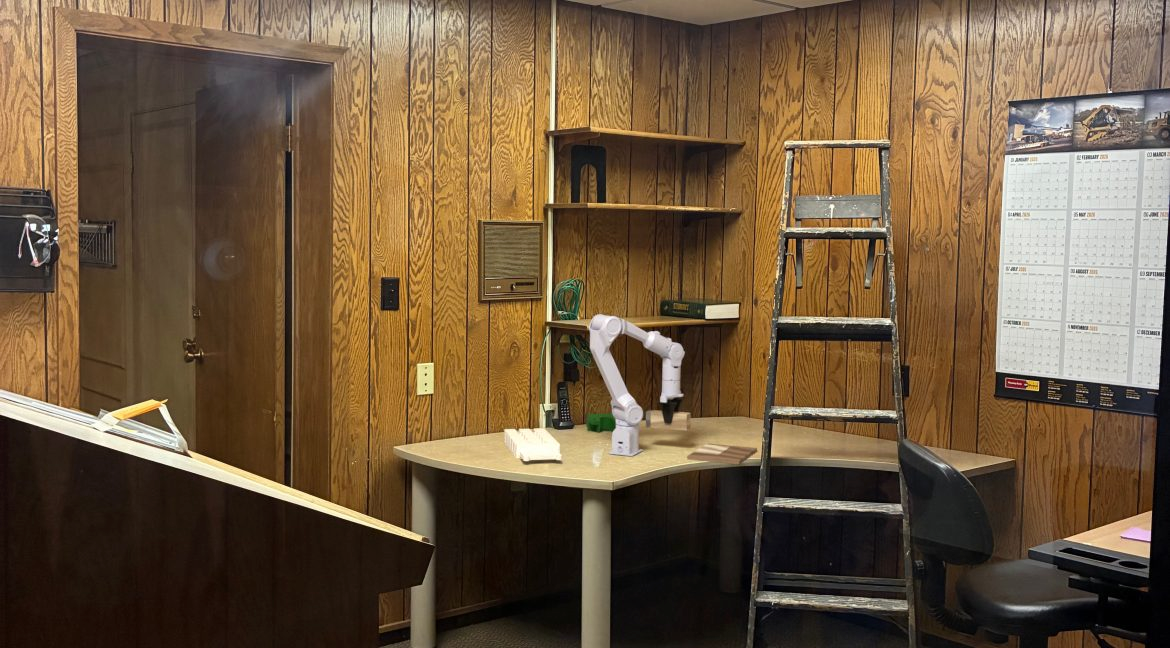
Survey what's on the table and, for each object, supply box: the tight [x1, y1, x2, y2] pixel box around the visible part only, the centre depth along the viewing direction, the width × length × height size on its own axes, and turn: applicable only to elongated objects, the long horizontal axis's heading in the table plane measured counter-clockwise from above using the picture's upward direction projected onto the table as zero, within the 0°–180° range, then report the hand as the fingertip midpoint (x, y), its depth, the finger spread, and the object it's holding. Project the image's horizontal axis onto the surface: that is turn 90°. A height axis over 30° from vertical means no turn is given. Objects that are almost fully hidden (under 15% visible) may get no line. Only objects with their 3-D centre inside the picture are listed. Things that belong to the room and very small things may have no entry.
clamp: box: [585, 412, 616, 434], centre depth 354 cm, size 12×6×9 cm, turn 98°
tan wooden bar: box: [645, 409, 692, 431], centre depth 325 cm, size 4×14×5 cm, turn 66°
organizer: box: [503, 427, 563, 462], centre depth 315 cm, size 13×5×35 cm
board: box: [686, 443, 758, 465], centre depth 316 cm, size 22×16×1 cm
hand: (670, 422), depth 325 cm, fingers closed on tan wooden bar, 4 cm apart
